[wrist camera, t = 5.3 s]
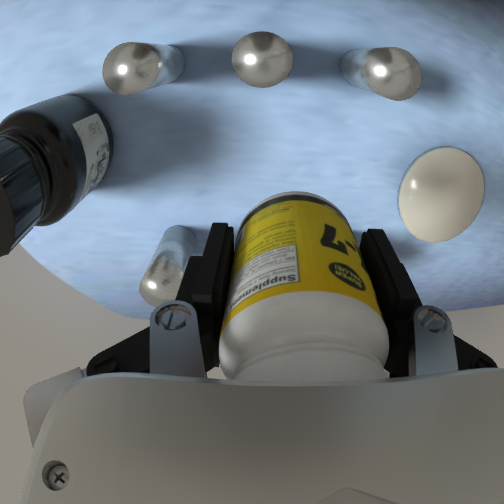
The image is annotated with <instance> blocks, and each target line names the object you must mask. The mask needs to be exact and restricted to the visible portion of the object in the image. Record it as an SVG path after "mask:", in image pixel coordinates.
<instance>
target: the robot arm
mask: <svg viewBox="0 0 504 504" xmlns="http://www.w3.org/2000/svg"><path fill="white" fill-rule="evenodd" d="M359 250H360V253H361V256H362V258H363V261H364V264H365V267H366V269H367V272H368V275H369V278H370V280H371V283H372V286H373V289H374V292H375V294H376V298H377V300H378V303H379V307H380V310H381V312H382V315H383V318H384V322H385V324H386V327H387V331H388V337H389V352H388V357H387V360H386V363H385V365H384V369H385V370H386V374H387V376H388V378H385V379H370V380H352V381H322V382H276V381H245V380H226V379H212V378H207V373H206V372H208V371H209V370H211V369H212V368H214V367H219V363H220V360H219V340H220V334H221V328H222V323H223V317H224V310H225V305H226V298H227V292H228V286H229V280H230V274H231V268H232V263H233V257H234V232H233V227H228V223H213V224H212V227H211V230H210V233H209V236H208V240H207V243H206V246H205V250H204V253H203V256H190V258H189V260H188V263H187V266H186V269H185V272H184V275H183V278H182V281H181V284H180V287H179V290H178V293H177V296H176V299H175V301H168V302H165V303H163V304H160V305H159V306H158V307H156V308H155V309H154V310H153V312H152V313H151V317H150V326H149V327H148V328H146V329H144V330H142V331H140V332H138V333H136V334H134V335H133V336H131V337H129V338H127V339H125V340H123V341H121V342H119V343H117V344H116V345H114V346H112V347H110V348H108V349H106V350H104V351H102V352H101V353H99V354H97V355H96V356H94V357H93V358H92V359H91V360H90V362H89V363H88V366H87V368H85V369H82V370H81V368H80V367H78V368H76V369H73V370H70V371H68V372H65V373H62V374H60V375H57V376H55V377H52V378H49V379H47V380H45V381H42V382H39V383H36V384H34V385H33V386H31V387H30V388H29V389H28V390H27V391H26V393H25V395H24V402H23V403H24V409H25V414H26V419H27V424H28V428H29V433H30V437H31V442H32V446H33V450H32V453H31V456H30V459H29V463H28V466H27V469H26V473H25V476H24V480H23V484H22V487H21V491H20V495H19V499H18V504H504V369H503V368H498V367H497V365H496V363H495V362H494V361H493V360H492V359H491V358H490V357H489V356H487V355H486V354H484V353H483V352H481V351H479V350H478V349H476V348H475V347H473V346H471V345H470V344H468V343H467V342H465V341H463V340H462V339H460V338H458V337H457V336H455V335H454V334H453V330H452V325H451V321H450V319H449V317H448V316H447V314H446V313H445V312H443V311H442V310H441V309H439V308H437V307H434V306H428V305H425V306H423V305H422V303H421V301H420V298H419V296H418V294H417V292H416V290H415V288H414V286H413V284H412V281H411V279H410V277H409V275H408V273H407V271H406V269H405V267H404V265H403V264H402V263H400V261H399V259H398V257H397V255H396V253H395V251H394V249H393V247H392V246H391V244H390V242H389V240H388V238H387V236H386V234H385V232H384V231H383V229H368V230H367V232H363V234H362V238H361V243H360V247H359Z"/></svg>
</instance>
